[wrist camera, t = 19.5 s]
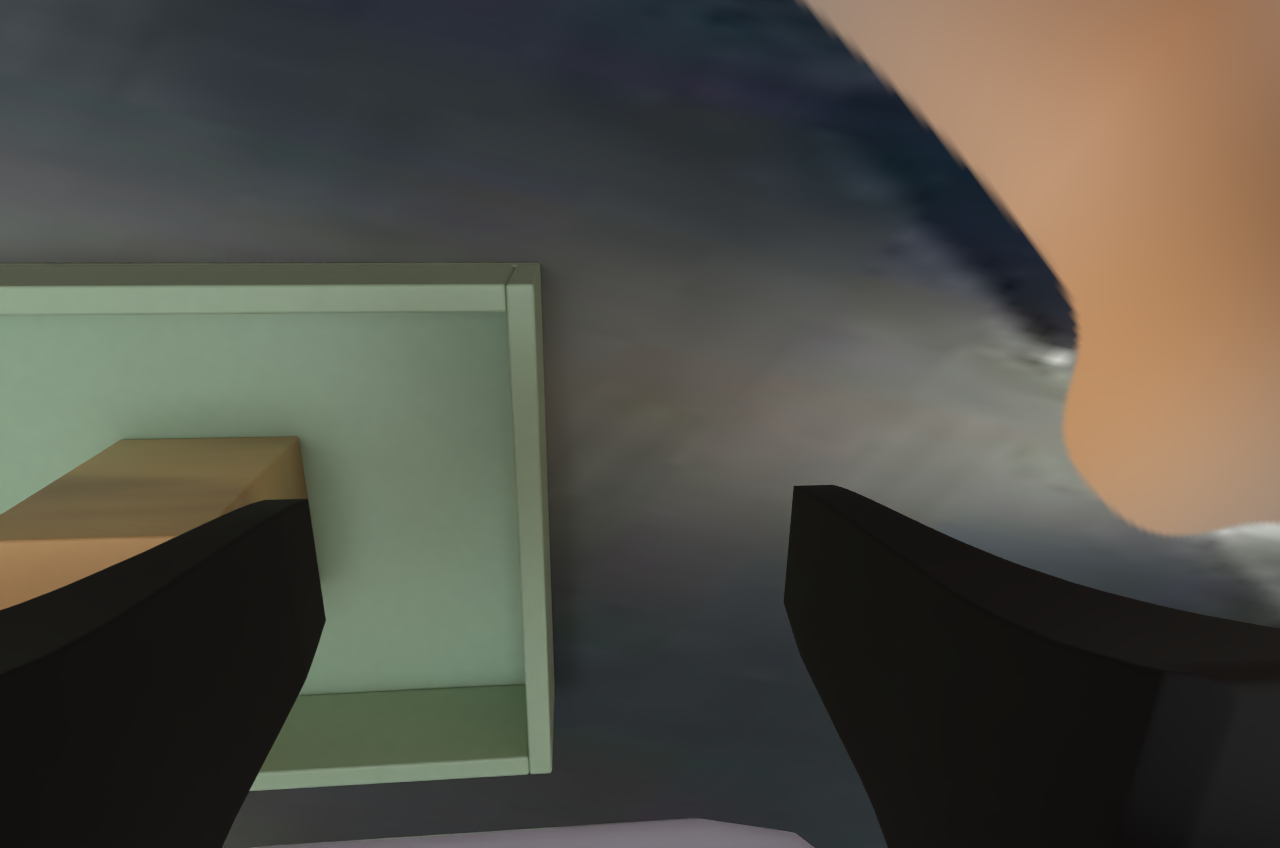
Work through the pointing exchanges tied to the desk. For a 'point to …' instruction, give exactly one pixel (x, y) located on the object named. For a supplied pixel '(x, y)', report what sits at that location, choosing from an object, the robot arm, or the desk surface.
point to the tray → (336, 475)
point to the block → (136, 505)
